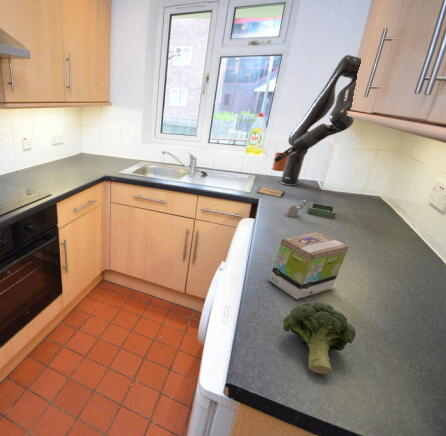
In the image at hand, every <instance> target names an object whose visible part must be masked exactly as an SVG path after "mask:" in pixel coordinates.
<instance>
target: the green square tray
mask: <svg viewBox="0 0 446 436" xmlns="http://www.w3.org/2000/svg"><path fill="white" fill-rule="evenodd" d="M335 212H336V208H335V206H333V205H329V204H328V205H327V204H322V203H316V202H311V203H310V206H309V209H308V214H309V215H313V216H317V217H318V216H319V217H323V218H329V219H334V216H335Z"/></svg>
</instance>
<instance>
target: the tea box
mask: <svg viewBox="0 0 446 436" xmlns="http://www.w3.org/2000/svg"><path fill="white" fill-rule="evenodd" d="M349 246H350V245H348V244H345V243H343V242H341V241H338V240H336V239H333V238H332V237H329V236H327V235H325V234H323V233H320V232H318V231H314V232H309V233H304V234H298V235H294V236H288V237H284V238H282V239H281V242H280V245H279V248H278V251H277V254H276V257H275V260H274V264H273V267H272V271H271V273H270V275H269V282H270V283H272V284H273V285H274V286H276V287H278V288H279V289H280V290H282V291H283V292H285V293H286V294H288V295H290V297H292V298H294V299H295V300H299V299H301V298H305V297H308V296H313V295H315V294H319V293H321V292H325V291H328V290H331V289H332V288H333V287H334V284H335V282H336V280H337V277H338V274H339V272H340V270H341V267H342V265H343V263H344V259H345V258H346V255H347V252H348V250H349Z"/></svg>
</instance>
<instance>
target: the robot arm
mask: <svg viewBox="0 0 446 436" xmlns="http://www.w3.org/2000/svg"><path fill="white" fill-rule="evenodd" d="M361 58H362V57H358V56H354V55H350V54H346V55H344V56H343V57H342V58H341V59H340V61H339V62H338V63H337V66H336V67H335V68H334V70H333V72H332V74H331V75H330V77H329V79H328V80H327V82H326V83H325V85H324V87H323V88H322V90H321V91H320V93H319V94H318V95H317V97H316V98H315V99H314V101H313V103H312V104H311V105H310V107H309V109H308V110H307V112H306V113H305V115H304V116H303V118H302V119H301V121H300V122H299V123H298V124H297V125H296V126H295V128H294V129H293V130H292V131H291V133H290V135H289V136H288V141H287V142H288V144H289V146H290V147H288V148H287V149H285V150H284V151H283V152H280V153H281V154H280V156H278V157H277V158H275V157H274V158H275V159H274V158H273V161H274V160H275V161H276V162H278V161H279V160H281V159H283V158H285V157H286V156H287V157H288V156H289V157H288V161H287V165H286V169H285V171H282V176H281V179H280V184H282V185H285V186H291V187H293V186H297V185H298V182H299V178H300V174H301V171H302V168H303V163H304V159H305V156H306V155H307V153H308V152H309V150H310V149H311V148H313V147H314V146H315V145H318V143H320V142H322V141H323V140H324V139H327V138H328V137H330V136H332V135H333V136H334V135H336V134H338V133H341V132H344V131H346V130H347V129H349V128H350V127H351V126H352V125H353V124H354V120H355V119H354V117H353V116H352V117H349V116H347V114H348V113H349V112H350V111H351V110H352V109H351V107H352V102H353V96H354V90H355V86H356V80H357V73H358V70H359V67H360V64H361ZM341 77H342V78H347V79H350V82H349V83H348V84H346V85H345V86H344V87H343V88H341V90H340V91H339V92H338V94H337V96H336V87H337V84H338V82H339V80H340V78H341ZM333 106H334V107H333ZM352 108H353V107H352ZM331 109H332V111H331V112H330V110H331ZM347 111H348V112H347ZM329 112H330V114H329V118H328V119H329V122H330V123H331V124H326V123H321V124H319V125H317V126H315V127H314V128H312V129H311V127H313V126H314V125H315V124H317V123H318V122H320V120H322V119H323V118H324V117H325V116H327V114H328V113H329ZM284 153H285V154H286V155H285V156H284V155H283V154H284Z"/></svg>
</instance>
